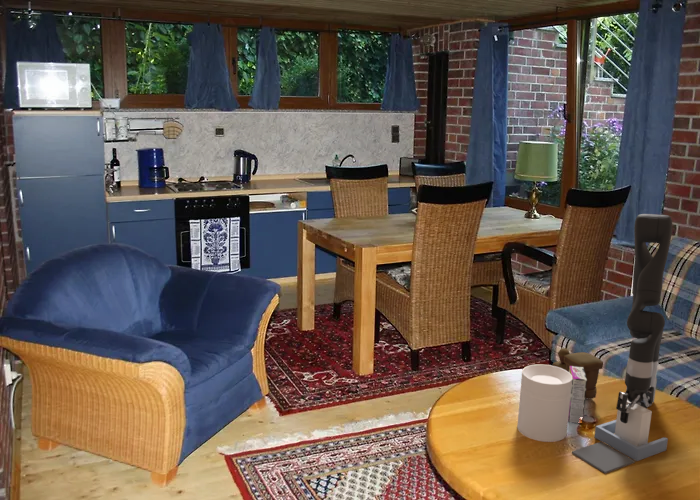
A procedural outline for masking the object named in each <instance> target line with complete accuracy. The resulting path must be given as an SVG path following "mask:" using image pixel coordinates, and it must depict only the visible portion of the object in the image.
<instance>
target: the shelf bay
mask: <svg viewBox="0 0 700 500" xmlns="http://www.w3.org/2000/svg"><path fill="white" fill-rule="evenodd" d="M615 427H616V419H614V420H611V421H608V422H604V423H601V424H599V425H595V430H594V438H595V439H596V440H598V441H599V442H602V443H604V444H606V445H608V446H609V447H611V448H613V449H615V450H616V451H618V452H620V453H622V454H623V455H625V456H627V457H629V458H630V459H632V460H634V461H635V462H639V461H641V460H643V459H646V458H650V457H652V456H654V455H658V454H660V453H662V452H666V451H667V448H668V440H669V438H668V437H665V436H663V437H661V438H659V439H656V440H653V441H650V442H648V443H647V444H644V445H641V446H638V447H637V446H635V445H633V444H632V443H630V442H628V441H626V440H624V439H622V438H621V437H619V436H617V435H615Z"/></svg>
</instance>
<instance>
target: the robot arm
mask: <svg viewBox="0 0 700 500" xmlns="http://www.w3.org/2000/svg"><path fill="white" fill-rule="evenodd" d="M633 229H634V232H633V233H634V235H633V236H634V264H633V272H632V273H633V274H632V306H631V310H630V312H629V315H628V317H627V320H626V326H627V329H629V333H630V336H631V337H632V338H634V339H632V340H631V342H630V344H629V345H630V346H629V353H628V360H627V363H626V368H625V369H626V371H625V376H624V377H625V378H624V384H625V387H626V390H625V392H622V391H619V392H618V396H617V402H616V406H615V408H616V410H617V411H618V410H620V411H621V416H620V421H621V422H623V423H627V422H628V415H629V413H628V412H629V410H630V409H631V408H632V407H633V406H634V405H635V404H638V405H640V406H642V407H644V408H646V409H648V407H651V406H652V405H653V403H654V402H655V395H656V390H657V382H658V378H657V373H658V366H659V357H660V350H661V349H660V348H661V343H662V338H663V334H664V328H665V325H666V321H665V317H664V316H663V314H661V313H660V312H657V311H649V310H648V311H647V310H644V309H645V308H646V307H653V306H658V305H659V304H660V303H661V299H662V298H661V297H662V289H663V280H664V272H665V269H666V268H665V267H666V263H667V259H668V255H669V251H670V246H671V239H672V234H673V219H672V217H671V216H670V215H667V214H654V213H642V214H638V215H637V216H636V217H635V222H634V227H633ZM647 243H650V244H653V243H654V244H658V247H657V250H656V253H655V254H654V256H653V255H652V253H651V252H650V251H649V248H648V245H647ZM627 400H628V401H629V402H631V403H628V402H627ZM621 404H622V406H621V407H620V405H621ZM626 405H628V407H627V408H626Z"/></svg>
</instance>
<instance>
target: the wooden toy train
mask: <svg viewBox="0 0 700 500" xmlns="http://www.w3.org/2000/svg"><path fill="white" fill-rule="evenodd" d="M557 357H558V358H559V361H555V362H553V363H552V366H556V367H559V368H562V369H564V370H566V371H568V372H569V366H577V367H583V368H584V371H585V375H586V379H587V385H586V395H585V400H593V399H594V398H596V397H597V393H598V392H597V383H598V379H599V373H600V370H603V369H604V361H603V360H602V359H600V358H598V357H597V356H595V355H593V354H591V353H588V352H584V351H583V352H581V351H580V352H575V353H570V351H569V349H568V348H566V347H563V348H560V350H558V352H557Z"/></svg>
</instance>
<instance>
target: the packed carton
mask: <svg viewBox="0 0 700 500" xmlns="http://www.w3.org/2000/svg"><path fill="white" fill-rule="evenodd" d="M627 402H628V403H631V402H629V401H628V400H627ZM621 406H622V404H621V405H620V407H621ZM627 407H628V405H626V408H627ZM628 413H629V415H628V422H627V423H623V422H621V421H620V416H621V411H620V410H617V412H616V419H615V420H616V427H615V433H614V434H615V435H617V436H619V437H621V438H622V439H624V440H626V441H628V442H630V443H632V444H633V445H635V446H637V447H638V446H641V445H644V444H647V443H649V442H648V441H649V434H650V427H651V420H652V413H653V412H652V410H650V409H649V408H647V409H646V408H644V407H642V406H640V405H638V404H635V405H634V406H633V407H632V408H631V409H630V410H629V412H628Z"/></svg>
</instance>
